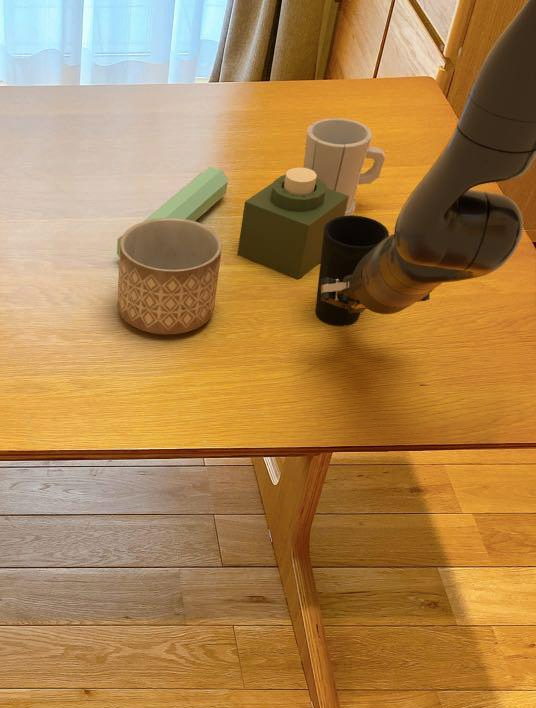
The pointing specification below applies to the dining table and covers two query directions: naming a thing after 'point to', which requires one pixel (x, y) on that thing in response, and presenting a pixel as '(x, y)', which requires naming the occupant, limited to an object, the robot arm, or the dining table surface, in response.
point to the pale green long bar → (193, 198)
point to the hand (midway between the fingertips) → (353, 304)
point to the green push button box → (288, 226)
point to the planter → (168, 275)
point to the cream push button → (300, 181)
